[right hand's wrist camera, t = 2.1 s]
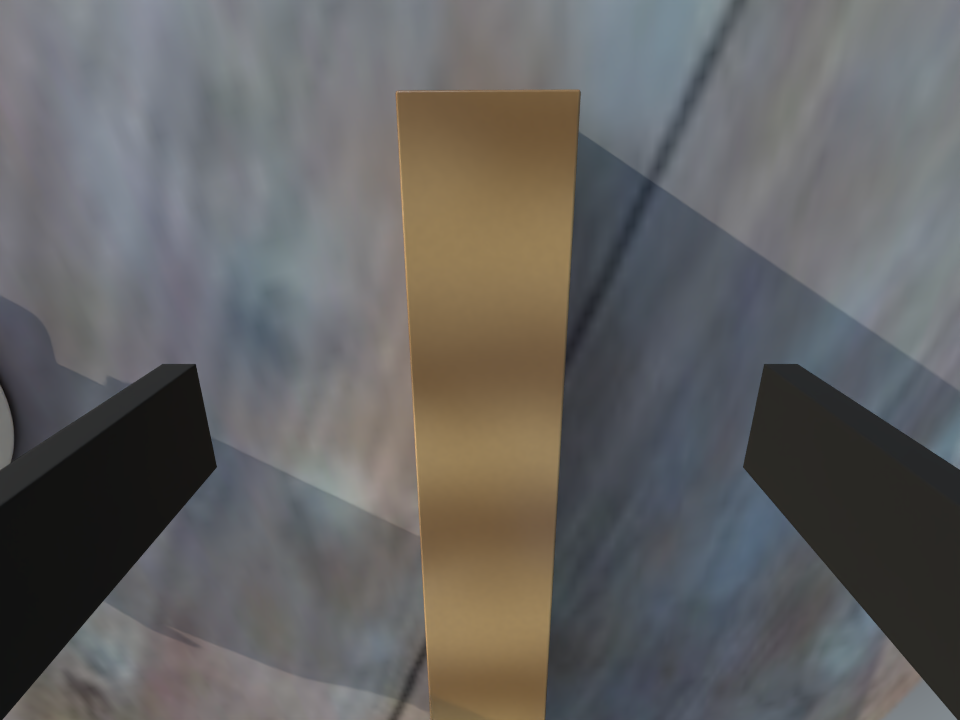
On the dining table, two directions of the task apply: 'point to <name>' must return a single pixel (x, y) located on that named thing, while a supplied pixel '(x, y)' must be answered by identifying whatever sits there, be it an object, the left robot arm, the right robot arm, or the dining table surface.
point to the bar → (488, 380)
